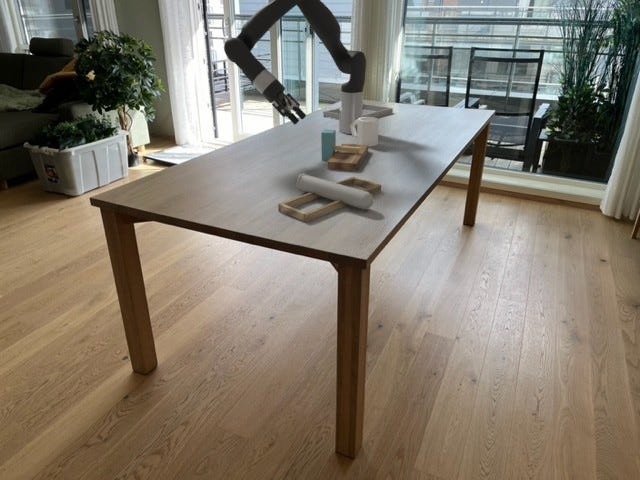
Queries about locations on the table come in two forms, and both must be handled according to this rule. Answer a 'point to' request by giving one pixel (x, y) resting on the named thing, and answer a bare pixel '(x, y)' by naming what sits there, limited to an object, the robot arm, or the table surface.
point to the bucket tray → (379, 109)
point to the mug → (366, 131)
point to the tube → (334, 191)
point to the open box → (347, 158)
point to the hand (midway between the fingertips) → (300, 120)
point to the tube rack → (287, 205)
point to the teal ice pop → (332, 144)
